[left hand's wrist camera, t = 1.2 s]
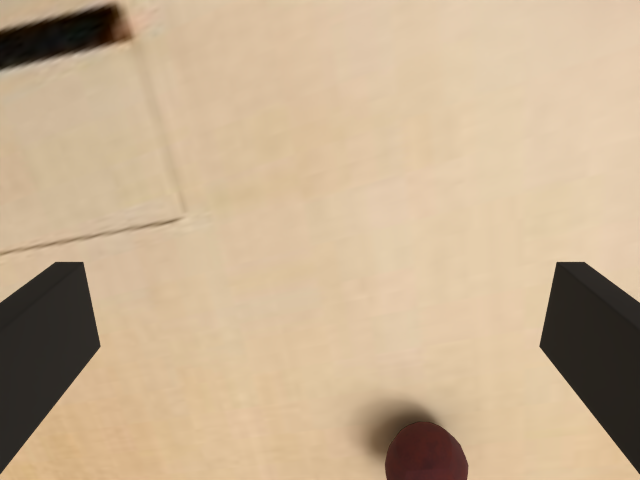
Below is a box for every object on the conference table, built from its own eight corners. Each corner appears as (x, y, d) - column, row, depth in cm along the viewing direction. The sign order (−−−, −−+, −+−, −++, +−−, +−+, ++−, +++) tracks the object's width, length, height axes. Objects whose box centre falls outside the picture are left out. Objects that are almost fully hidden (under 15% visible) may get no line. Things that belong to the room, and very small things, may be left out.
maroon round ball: (384, 471, 45) (395, 539, 39) (376, 410, 43) (386, 471, 36) (457, 463, 45) (481, 529, 38) (453, 400, 42) (479, 461, 36)
